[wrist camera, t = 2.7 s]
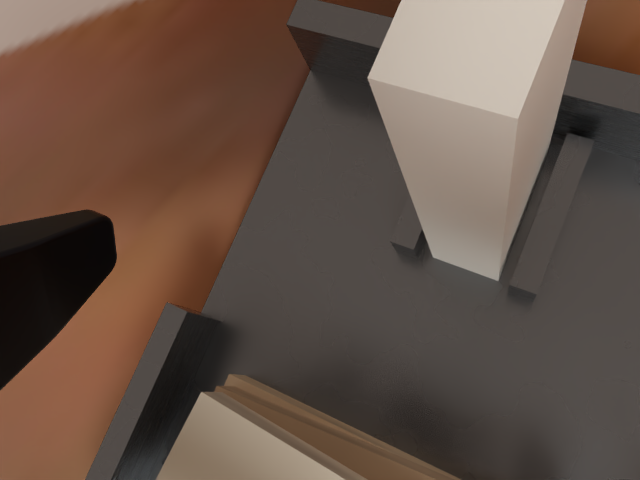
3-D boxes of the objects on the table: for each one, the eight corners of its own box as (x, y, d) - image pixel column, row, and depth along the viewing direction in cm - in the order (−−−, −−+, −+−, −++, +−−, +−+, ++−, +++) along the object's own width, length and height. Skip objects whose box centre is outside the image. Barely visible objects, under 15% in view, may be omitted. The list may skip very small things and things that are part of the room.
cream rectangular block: (498, 281, 19) (518, 118, 8) (433, 257, 20) (367, 77, 9) (546, 155, 20) (628, -161, 9) (481, 136, 21) (478, -178, 9)
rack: (567, 853, 16) (593, 990, 12) (107, 552, 21) (26, 585, 18) (786, 180, 19) (862, 127, 15) (328, 58, 24) (299, -4, 20)
